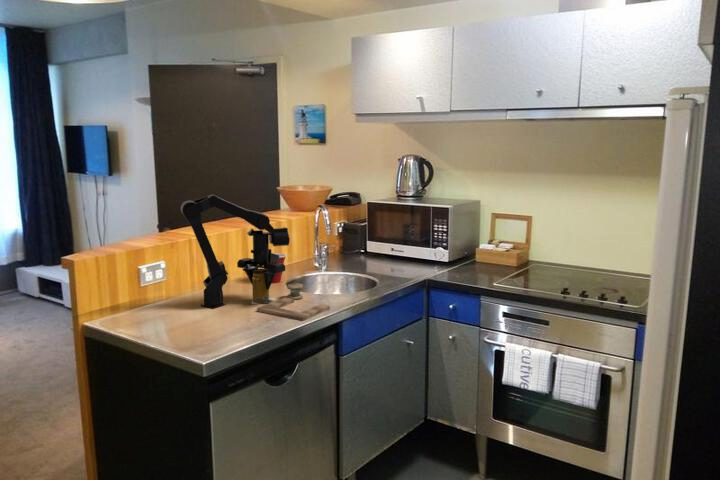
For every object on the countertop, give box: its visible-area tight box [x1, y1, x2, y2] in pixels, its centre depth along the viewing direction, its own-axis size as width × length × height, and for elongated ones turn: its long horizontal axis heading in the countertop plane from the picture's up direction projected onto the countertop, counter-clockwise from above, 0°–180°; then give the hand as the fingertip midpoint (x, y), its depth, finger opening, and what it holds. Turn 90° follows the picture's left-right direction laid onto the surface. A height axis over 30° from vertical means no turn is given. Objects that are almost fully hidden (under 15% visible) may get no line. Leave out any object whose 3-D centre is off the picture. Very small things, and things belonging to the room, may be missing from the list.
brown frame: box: [256, 297, 330, 321], centre depth 207 cm, size 16×20×1 cm
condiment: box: [250, 268, 276, 305], centre depth 217 cm, size 7×8×12 cm
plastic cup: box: [266, 252, 287, 284], centre depth 246 cm, size 11×11×12 cm
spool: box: [286, 282, 304, 301], centre depth 222 cm, size 6×6×5 cm
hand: (261, 288), depth 217 cm, fingers closed on condiment, 6 cm apart
